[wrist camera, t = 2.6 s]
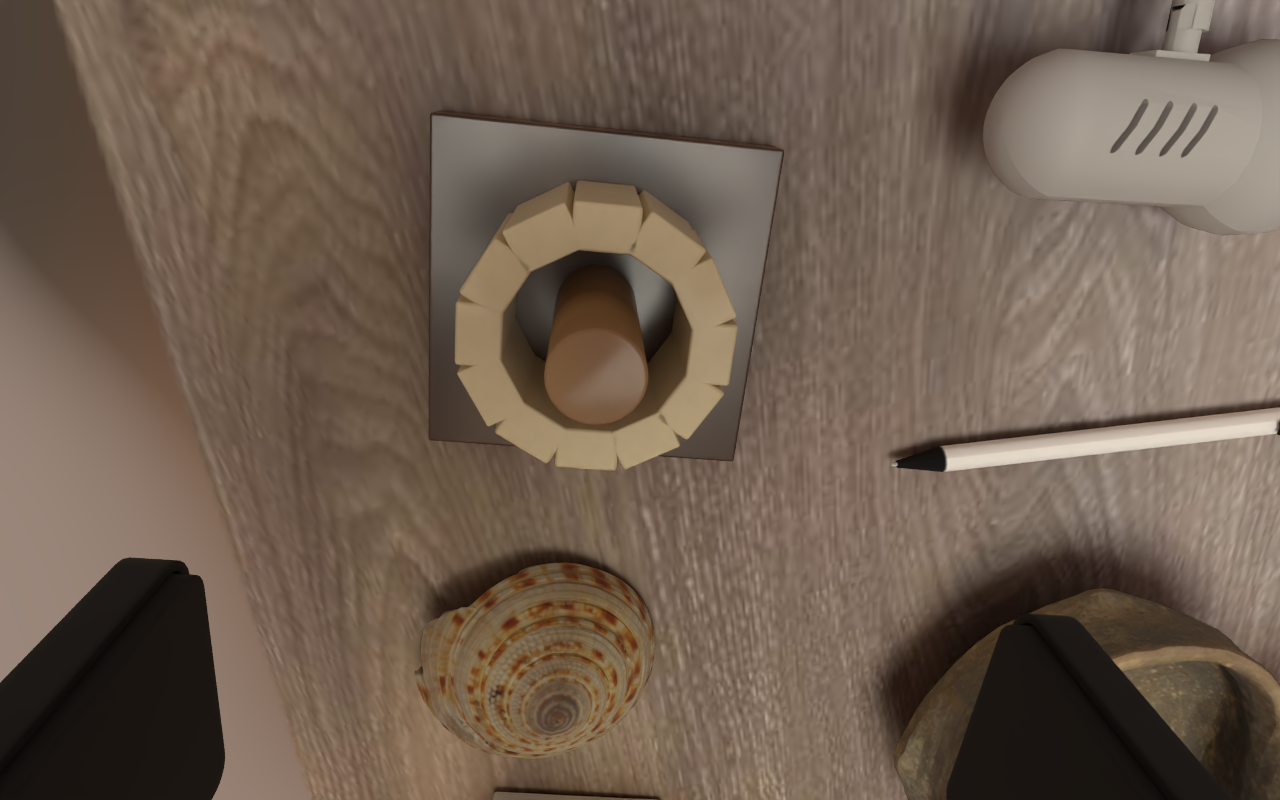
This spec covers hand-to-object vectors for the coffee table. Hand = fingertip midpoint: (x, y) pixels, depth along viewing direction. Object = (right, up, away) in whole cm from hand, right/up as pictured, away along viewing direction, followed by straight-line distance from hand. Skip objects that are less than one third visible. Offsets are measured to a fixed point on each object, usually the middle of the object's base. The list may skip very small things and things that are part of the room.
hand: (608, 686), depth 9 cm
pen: (+19, +2, +19) cm, 27 cm away
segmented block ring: (-1, +6, +15) cm, 16 cm away
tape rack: (-1, +7, +16) cm, 17 cm away
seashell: (-3, -6, +21) cm, 22 cm away
